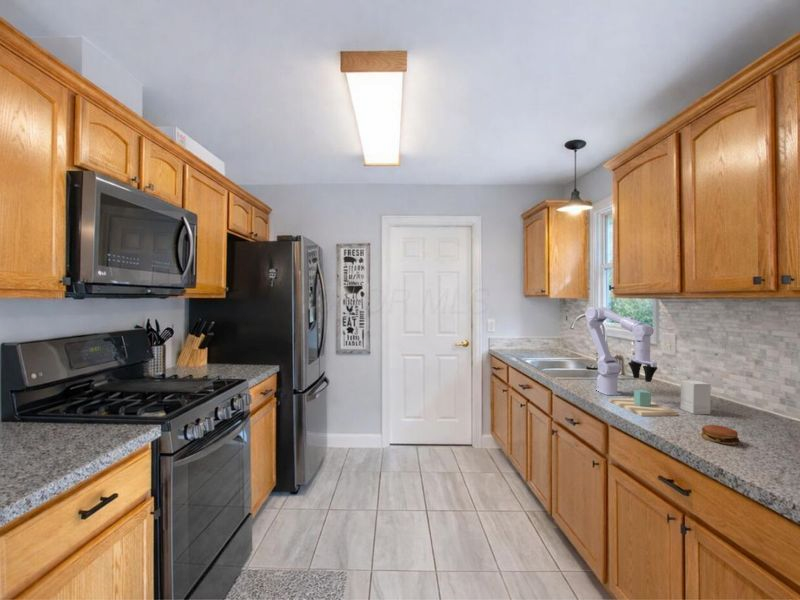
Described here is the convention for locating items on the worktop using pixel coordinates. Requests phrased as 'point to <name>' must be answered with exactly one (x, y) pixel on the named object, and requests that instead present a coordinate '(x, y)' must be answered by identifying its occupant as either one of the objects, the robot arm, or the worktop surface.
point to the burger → (720, 434)
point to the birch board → (644, 408)
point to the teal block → (642, 398)
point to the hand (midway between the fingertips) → (642, 379)
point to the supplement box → (695, 397)
